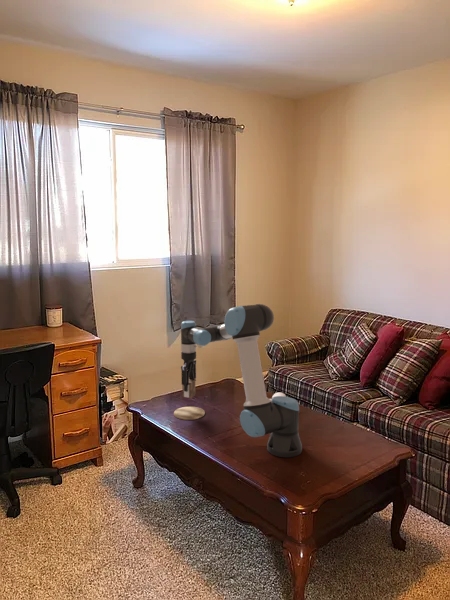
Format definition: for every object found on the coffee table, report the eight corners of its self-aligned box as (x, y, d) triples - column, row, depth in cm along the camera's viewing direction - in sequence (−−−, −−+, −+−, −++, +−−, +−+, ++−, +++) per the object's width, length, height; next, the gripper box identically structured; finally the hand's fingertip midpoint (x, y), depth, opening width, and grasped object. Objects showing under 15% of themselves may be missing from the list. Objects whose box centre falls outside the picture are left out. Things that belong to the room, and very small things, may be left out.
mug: (286, 406, 264) (287, 392, 263) (287, 413, 255) (287, 398, 253) (264, 405, 265) (264, 391, 264) (264, 412, 256) (264, 398, 254)
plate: (197, 421, 244) (197, 420, 244) (168, 417, 249) (168, 415, 249) (209, 410, 258) (209, 408, 258) (182, 406, 264) (182, 404, 264)
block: (191, 398, 249) (191, 382, 248) (182, 396, 251) (182, 381, 250) (195, 394, 254) (195, 379, 253) (186, 393, 256) (186, 378, 254)
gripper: (187, 356, 239) (188, 402, 243) (202, 347, 256) (202, 390, 259) (173, 354, 242) (174, 400, 245) (189, 346, 258) (189, 388, 262)
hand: (189, 395), depth 252 cm, fingers closed on block, 5 cm apart
